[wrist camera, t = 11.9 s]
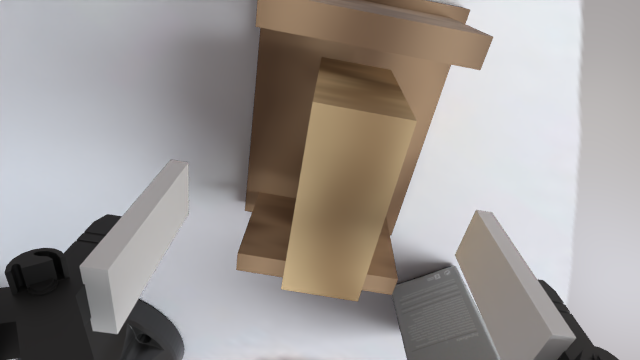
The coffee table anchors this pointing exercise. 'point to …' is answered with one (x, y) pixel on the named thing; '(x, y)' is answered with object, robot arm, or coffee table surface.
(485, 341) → the skincare box
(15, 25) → the coffee table surface
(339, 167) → the light wooden block
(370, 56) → the peg frame
